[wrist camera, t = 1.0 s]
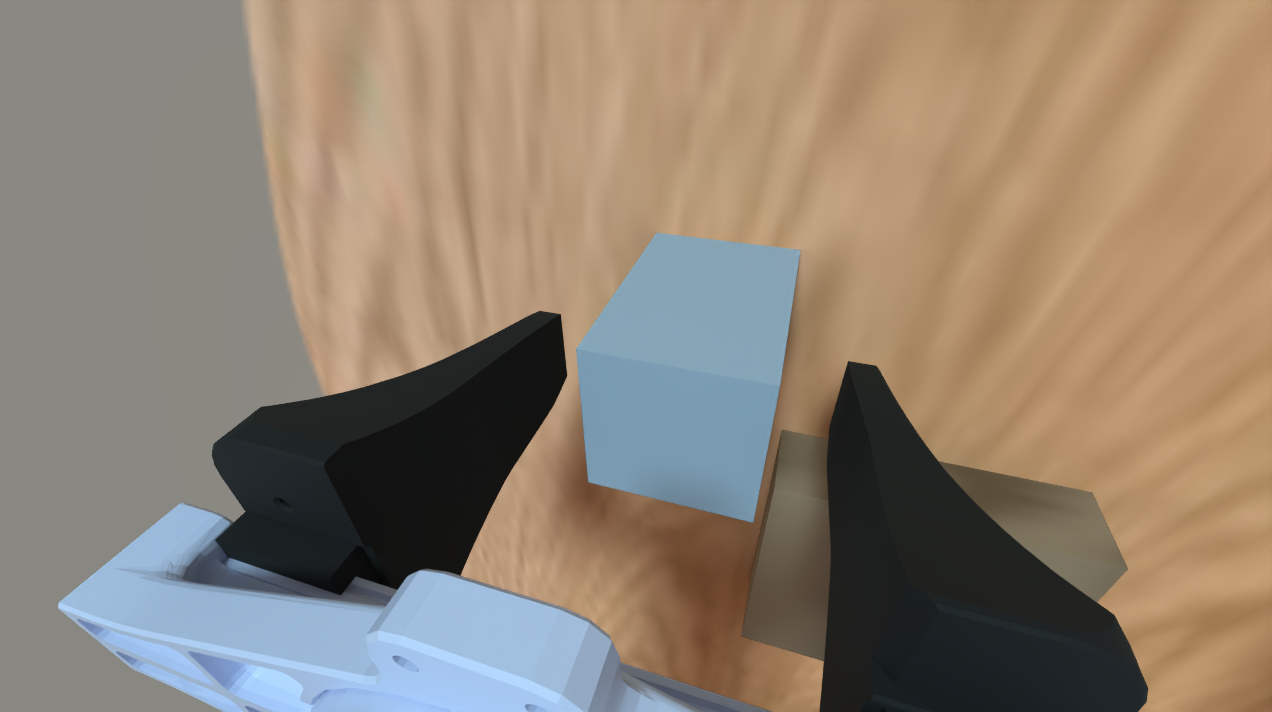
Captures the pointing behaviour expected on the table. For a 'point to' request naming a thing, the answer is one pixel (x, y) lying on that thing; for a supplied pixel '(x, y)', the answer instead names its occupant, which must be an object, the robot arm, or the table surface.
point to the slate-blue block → (688, 373)
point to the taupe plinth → (801, 551)
